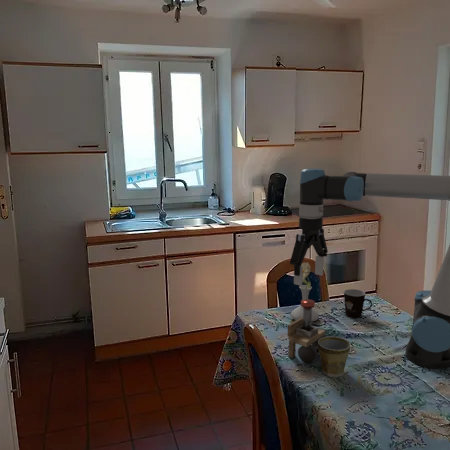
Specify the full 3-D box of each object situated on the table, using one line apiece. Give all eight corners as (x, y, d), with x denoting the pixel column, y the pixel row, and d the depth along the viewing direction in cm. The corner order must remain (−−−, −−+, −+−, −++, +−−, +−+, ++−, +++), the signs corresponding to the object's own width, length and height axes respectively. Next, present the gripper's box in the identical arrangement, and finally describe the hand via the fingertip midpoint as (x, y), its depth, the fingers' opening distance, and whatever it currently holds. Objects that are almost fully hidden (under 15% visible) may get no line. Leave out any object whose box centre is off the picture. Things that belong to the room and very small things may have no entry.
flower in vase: (289, 313, 194) (290, 256, 189) (316, 314, 193) (318, 256, 189) (292, 326, 181) (293, 265, 176) (321, 326, 181) (323, 265, 176)
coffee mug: (338, 312, 194) (339, 290, 192) (356, 310, 197) (357, 288, 195) (354, 323, 183) (355, 299, 181) (372, 320, 186) (374, 297, 184)
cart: (330, 353, 159) (331, 321, 157) (313, 366, 150) (313, 333, 148) (305, 344, 165) (306, 314, 163) (287, 357, 156) (287, 325, 154)
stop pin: (316, 332, 157) (317, 301, 155) (309, 337, 154) (310, 305, 152) (304, 329, 160) (305, 298, 158) (297, 333, 157) (298, 301, 154)
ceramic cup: (348, 382, 140) (349, 352, 138) (315, 377, 143) (316, 347, 141) (349, 362, 153) (351, 334, 151) (319, 358, 155) (320, 330, 153)
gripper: (300, 224, 137) (298, 291, 141) (339, 212, 156) (336, 272, 160) (279, 221, 142) (278, 286, 146) (319, 210, 160) (317, 268, 165)
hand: (308, 279), depth 153 cm, fingers open, 13 cm apart
